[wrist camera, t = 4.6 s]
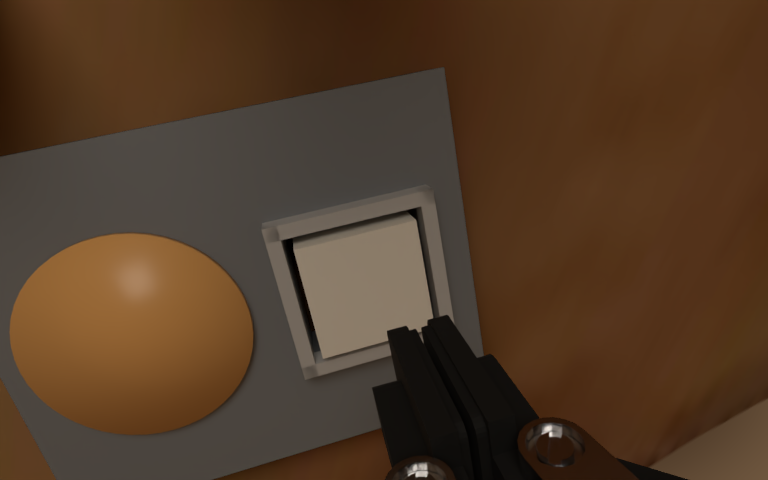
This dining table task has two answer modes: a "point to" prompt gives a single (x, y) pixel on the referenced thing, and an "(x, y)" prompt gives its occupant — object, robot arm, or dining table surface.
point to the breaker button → (363, 281)
